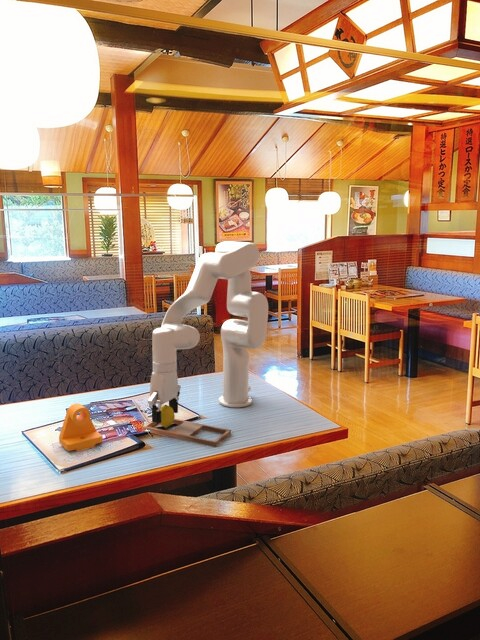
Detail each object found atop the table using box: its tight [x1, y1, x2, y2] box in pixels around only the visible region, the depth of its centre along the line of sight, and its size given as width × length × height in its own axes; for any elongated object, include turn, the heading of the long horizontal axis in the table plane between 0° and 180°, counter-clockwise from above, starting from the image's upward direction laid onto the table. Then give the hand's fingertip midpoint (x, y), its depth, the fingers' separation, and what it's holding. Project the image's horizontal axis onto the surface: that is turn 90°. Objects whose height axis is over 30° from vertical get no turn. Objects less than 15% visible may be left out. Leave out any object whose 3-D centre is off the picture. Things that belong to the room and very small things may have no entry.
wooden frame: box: [141, 418, 232, 448], centre depth 163 cm, size 11×27×2 cm, turn 65°
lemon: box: [158, 404, 176, 429], centre depth 166 cm, size 6×6×8 cm
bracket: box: [58, 403, 103, 452], centre depth 153 cm, size 11×7×12 cm, turn 129°
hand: (165, 417), depth 166 cm, fingers open, 9 cm apart
